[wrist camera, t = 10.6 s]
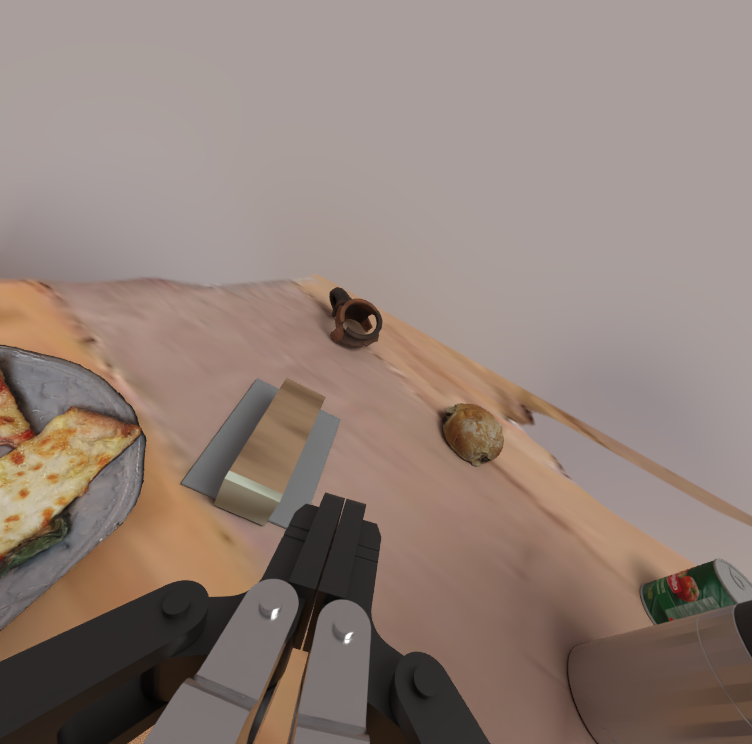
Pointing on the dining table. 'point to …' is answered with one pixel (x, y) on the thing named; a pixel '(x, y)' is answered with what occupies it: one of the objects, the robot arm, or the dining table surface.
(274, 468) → the walnut block
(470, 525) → the dining table surface
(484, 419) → the bread roll
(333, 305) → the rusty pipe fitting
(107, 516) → the food plate
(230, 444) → the rubber mat
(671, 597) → the canned tomato
